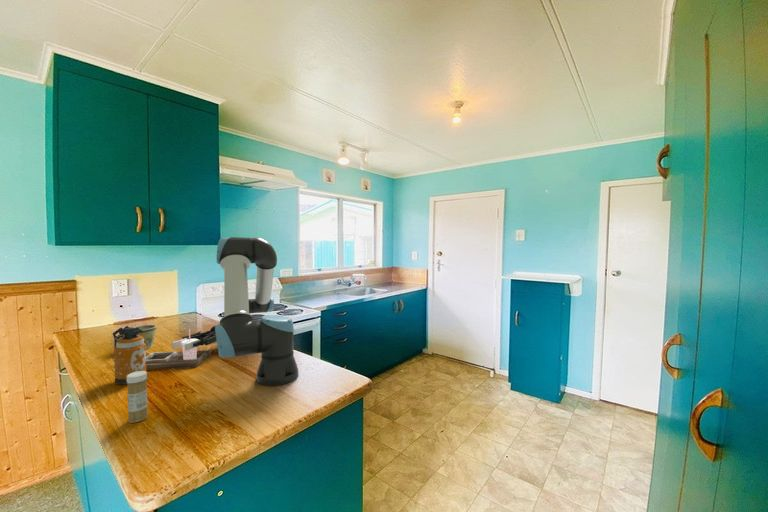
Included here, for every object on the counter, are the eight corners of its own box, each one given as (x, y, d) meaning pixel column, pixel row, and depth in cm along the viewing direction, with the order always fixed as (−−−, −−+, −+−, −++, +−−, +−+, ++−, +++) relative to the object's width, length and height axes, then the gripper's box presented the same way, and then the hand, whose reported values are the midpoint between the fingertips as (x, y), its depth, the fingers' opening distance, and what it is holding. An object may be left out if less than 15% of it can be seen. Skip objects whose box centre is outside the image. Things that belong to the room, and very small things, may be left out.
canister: (128, 387, 108) (127, 331, 107) (103, 383, 110) (102, 329, 110) (152, 376, 117) (151, 324, 116) (129, 373, 119) (127, 322, 118)
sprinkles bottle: (146, 413, 92) (145, 368, 91) (149, 419, 89) (148, 373, 88) (126, 419, 88) (125, 373, 88) (128, 425, 85) (127, 378, 85)
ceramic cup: (152, 349, 146) (152, 329, 146) (126, 352, 142) (126, 331, 142) (161, 341, 158) (160, 322, 158) (137, 344, 154) (137, 324, 154)
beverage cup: (201, 360, 133) (200, 328, 133) (186, 365, 128) (185, 331, 128) (193, 357, 137) (193, 326, 136) (178, 362, 131) (178, 329, 131)
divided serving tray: (196, 367, 126) (196, 360, 126) (133, 370, 122) (133, 363, 122) (210, 354, 141) (210, 347, 141) (154, 357, 137) (154, 350, 137)
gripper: (238, 340, 147) (197, 357, 125) (206, 337, 152) (161, 353, 130) (238, 325, 147) (197, 339, 124) (205, 322, 152) (161, 335, 129)
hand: (179, 346), depth 127 cm, fingers closed on beverage cup, 6 cm apart
